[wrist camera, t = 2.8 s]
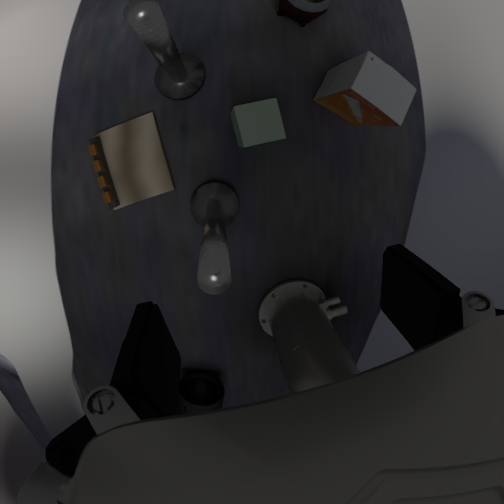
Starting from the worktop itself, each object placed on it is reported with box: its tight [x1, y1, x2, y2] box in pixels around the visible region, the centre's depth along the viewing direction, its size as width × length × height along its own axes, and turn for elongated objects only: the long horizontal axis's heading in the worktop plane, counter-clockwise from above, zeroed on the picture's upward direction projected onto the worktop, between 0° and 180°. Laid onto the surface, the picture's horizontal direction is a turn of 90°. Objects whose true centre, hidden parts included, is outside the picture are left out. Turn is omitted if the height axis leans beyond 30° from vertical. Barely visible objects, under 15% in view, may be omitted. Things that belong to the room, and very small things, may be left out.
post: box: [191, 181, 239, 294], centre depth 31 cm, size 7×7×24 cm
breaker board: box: [88, 112, 175, 210], centre depth 36 cm, size 10×12×4 cm
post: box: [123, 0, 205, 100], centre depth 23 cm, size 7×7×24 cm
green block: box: [230, 98, 286, 148], centre depth 34 cm, size 5×5×9 cm
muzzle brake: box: [178, 371, 224, 415], centre depth 54 cm, size 10×28×10 cm, turn 170°
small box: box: [313, 51, 416, 126], centre depth 32 cm, size 8×6×13 cm
